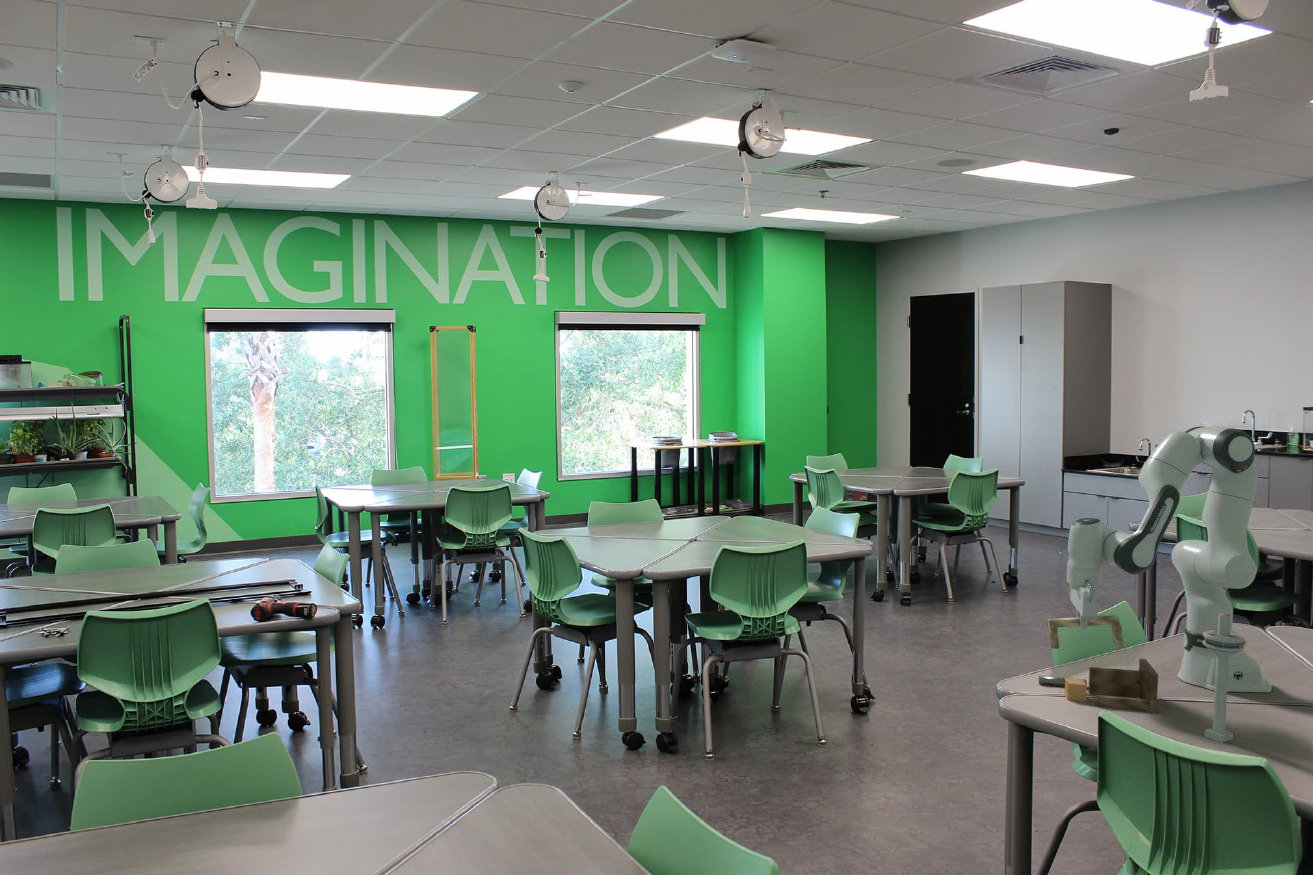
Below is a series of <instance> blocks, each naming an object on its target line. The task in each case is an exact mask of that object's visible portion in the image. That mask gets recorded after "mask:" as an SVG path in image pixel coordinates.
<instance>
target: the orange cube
mask: <svg viewBox="0 0 1313 875" xmlns="http://www.w3.org/2000/svg"><path fill="white" fill-rule="evenodd" d="M1064 678H1065V687H1064V696H1065V698H1066V700H1068V701H1076V702H1077V701H1078V702H1086V701H1087V687H1086V683H1085V682H1084V680H1082V679H1083V678H1072V679H1069V678H1070V677H1069V678H1068V677H1064Z"/></svg>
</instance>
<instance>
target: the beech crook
mask: <svg viewBox="0 0 1313 875" xmlns="http://www.w3.org/2000/svg"><path fill="white" fill-rule="evenodd" d="M1047 625H1048V633H1049V641H1050V642H1049V644H1050V648H1051V649H1053V650H1056V649H1060V641H1059V640H1060V639H1059V632H1058V628H1072V627H1080V617H1077V616H1076V617H1075V616H1074V617H1059V618H1057V617H1056V618H1047ZM1088 626H1089V627H1090V626H1091V627H1092V626H1111V636H1112V642H1113V644H1114V645H1115V647H1116V648H1117V649H1124V640H1123V639H1124V638H1123V630H1122V627H1123V626H1122V625H1121V622H1120V617H1119V615H1117V614H1115V615H1099V616H1098V615H1097V616H1096V618H1094V619H1093V618H1089V620H1088ZM1088 626H1087V627H1088Z"/></svg>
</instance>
